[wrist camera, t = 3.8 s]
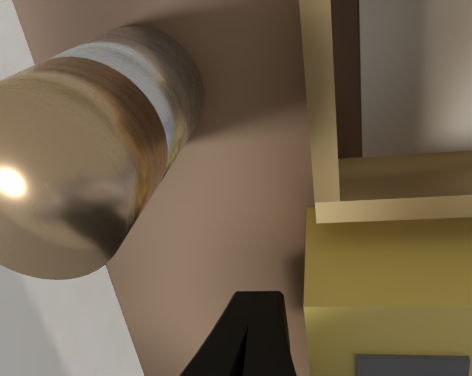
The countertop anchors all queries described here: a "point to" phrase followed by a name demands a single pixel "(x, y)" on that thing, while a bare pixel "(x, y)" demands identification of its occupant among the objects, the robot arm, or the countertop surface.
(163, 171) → the silver and brown cylinder
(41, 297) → the countertop surface
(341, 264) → the block
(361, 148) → the board
